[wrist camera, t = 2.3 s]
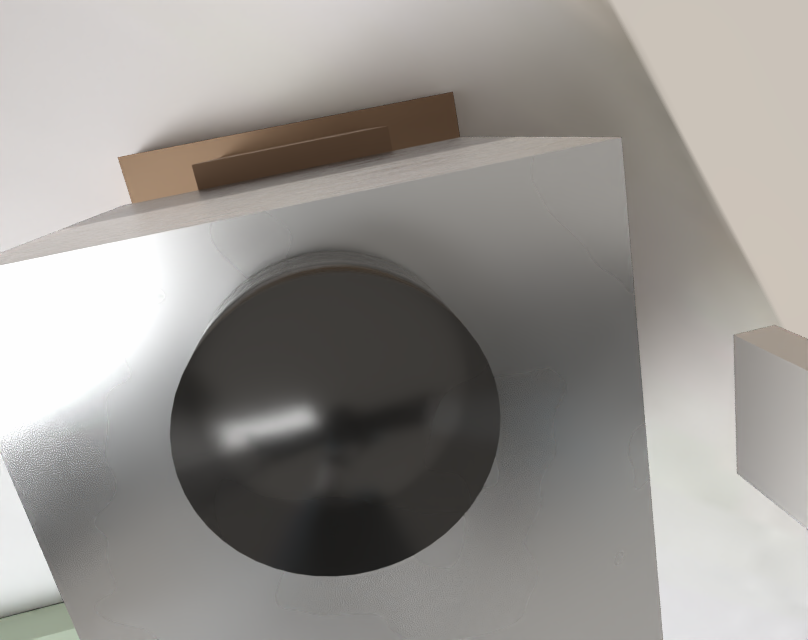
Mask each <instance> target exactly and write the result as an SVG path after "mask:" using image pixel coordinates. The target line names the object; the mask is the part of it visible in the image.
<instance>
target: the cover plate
mask: <svg viewBox="0 0 808 640" xmlns="http://www.w3.org/2000/svg"><path fill="white" fill-rule="evenodd" d="M0 453H1V455H2V458H3V460H4V462H5V465H6V467H7V469H8V472H9V474H10V476H11V479H12V481H13V483H14V486H15V488H16V491H17V493H18V495H19V498H20V500H21V502H22V505H23V507H24V509H25V512H26V514H27V516H28V519H29V521H30V523H31V526H32V528H33V531H34V533H35V535H36V538H37V540H38V542H39V545H40V547H41V549H42V552H43V554H44V556H45V559H46V561H47V563H48V566H49V568H50V571H51V573H52V575H53V578H54V580H55V582H56V585H57V587H58V589H59V592H60V594H61V596H62V599H63V601H64V603H65V606H66V608H67V611H68V613H69V615H70V618H71V620H72V622H73V625H74V627H75V629H76V632H77V634H78V636H79V639H80V640H663V632H662V620H661V608H660V596H659V584H658V572H657V560H656V548H655V536H654V524H653V512H652V499H651V487H650V475H649V463H648V451H647V439H646V427H645V415H644V403H643V391H642V379H641V367H640V355H639V342H638V330H637V318H636V306H635V294H634V282H633V270H632V258H631V246H630V234H629V222H628V210H627V197H626V185H625V173H624V161H623V149H622V137H513V138H508V139H503V140H498V141H493V142H488V143H483V144H478V145H473V146H469V147H464V148H459V149H454V150H449V151H444V152H439V153H434V154H429V155H424V156H420V157H415V158H410V159H405V160H400V161H395V162H390V163H385V164H380V165H375V166H371V167H366V168H361V169H356V170H351V171H346V172H341V173H336V174H331V175H326V176H322V177H317V178H312V179H307V180H302V181H297V182H292V183H287V184H282V185H277V186H273V187H268V188H263V189H258V190H253V191H248V192H243V193H238V194H233V195H228V196H224V197H219V198H214V199H209V200H204V201H199V202H194V203H189V204H184V205H179V206H175V207H170V208H165V209H160V210H155V211H150V212H145V213H140V214H135V215H130V216H126V217H121V218H116V219H111V220H106V221H101V222H96V223H91V224H86V225H81V226H76V227H72V228H67V229H62V230H58V231H56V232H53V233H50V234H48V235H45V236H43V237H40V238H38V239H35V240H32V241H30V242H27V243H25V244H22V245H19V246H17V247H14V248H12V249H9V250H7V251H4V252H1V253H0Z"/></svg>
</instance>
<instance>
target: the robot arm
mask: <svg viewBox="0 0 808 640" xmlns="http://www.w3.org/2000/svg"><path fill="white" fill-rule="evenodd" d="M734 375H735V415H736V455H737V474H739V475H740V476H741V477H742V478H744V479H745V480H746V481H747V482H749V483H750V484H751V485H752V486H754V487H755V488H756V489H757V490H759V491H760V492H761V493H762V494H764V495H765V496H766V497H767V498H769V499H770V500H771V501H772V502H774V503H775V504H776V505H777V506H779V507H780V508H781V509H782V510H784V511H785V512H786V513H787V514H788V515H790V516H791V517H792V518H793V519H795V520H796V521H797V522H798V523H800V524H801V525H802V526H803V527H805V528H806V529H807V530H808V339H807V338H805V337H802V336H800V335H797V334H795V333H792V332H790V331H788V330H786V329H783V328H781V327H779V326H776V325H772V326H768V327H764V328H760V329H756V330H751V331H747V332H743V333H739V334H735V335H734Z"/></svg>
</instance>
